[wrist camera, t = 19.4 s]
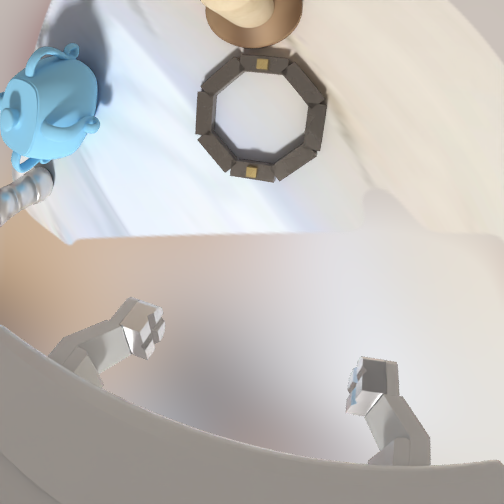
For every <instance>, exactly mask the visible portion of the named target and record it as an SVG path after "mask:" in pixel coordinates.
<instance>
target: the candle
mask: <svg viewBox="0 0 504 504" xmlns="http://www.w3.org/2000/svg"><path fill="white" fill-rule="evenodd" d="M200 1H201V2H202V3H203V4H204V5H205V6H206V7H208V8H209V9H211V10H213V11H214V12H216V13H218V14H219V15H221V16H222V17H224V18H226V19H227V20H229V21H230V22H232V23H233V24H235V25H237V26H240V27H244V28H254V27H258V26H260V25H262V24H264V23H266V22H267V21H268V20H269V19H270V17H271V16H272V14H273V11H274V2H273V0H200Z"/></svg>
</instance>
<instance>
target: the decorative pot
mask: <svg viewBox="0 0 504 504" xmlns="http://www.w3.org/2000/svg"><path fill="white" fill-rule="evenodd" d="M69 52H70V53H69ZM46 54H50V55H53V56H51V57H47V58H44V59H41V57H42V56H44V55H46ZM78 55H79V46H78V45H77V44H75V43H70V44H68V45H67V46H66V47H65V48H64V51H63V52H61V51H60V50H58V49H55V48H53V47H42V48H39V49H38V50H36V51H35V52H34V53H33V54H32V55H31V57H30V58H29V60H28V62H27V65H26V68H25V69H23V70H22V71H20V72H19V73H18V74H17V75H15V76H14V77H13V78H12V79H11V80H10V82H9V83H8V85H7V87H6V90H5V92H2V93H0V110H1V113H0V129H1V135H2V138H3V141H4V142H5V143H6V145H7V146H8V147H9V148H11V149H12V150H13V153H12V157H11V162H12V165H13V167H14V169H15V170H16V171H18V172H21V173H23V172H26V171H28V170H30V169H31V168H32V167H34V166H35V165H36V164H37V163H38V162H40V163H42V164H46V163H48V162H49V161H50V160H51V159H58V158H62V157H66V156H68V155H71V154H72V153H74V152H75V151H76V150H77V149H78V148H79V146H80V145H81V143H82V142H83V140H84V138H85V136H86V135H87V133H96V132H97V131H98V129H99V127H100V122H99V120H98V119H97V118H96V117H94V114H95V110H96V103H97V93H98V86H97V80H96V77H95V75H94V73H93V72H92V71H91V69H90V68H89V67H88V66H86V65H85V64H84V63H82V62H81V61H79V60H77V59H76V58H77V57H78ZM40 59H41V60H40ZM21 155H22V156H26V157H30V158H29V159H27V160H26V161H25V162H23V163H21V164H20V157H21Z"/></svg>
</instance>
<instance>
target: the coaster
mask: <svg viewBox="0 0 504 504" xmlns="http://www.w3.org/2000/svg"><path fill="white" fill-rule="evenodd" d="M273 2H274V11H273V14H272V16H271V17H270V19H269V20H268V21H267V22H266V23H264V24H262V25H260V26H258V27H254V28H244V27H240V26H237V25H235V24H233V23H232V22H230V21H229V20H227V19H226V18H224V17H222V16H221V15H219V14H218V13H216V12H214V11H213V10H211V9H209V8H208V7H206V18H207V21H208V24H209V26H210V27H211V29H212V30H213V32H214V33H215V34H216V35H217V36H218V37H220V38H221V39H223V40H224V41H226V42H228V43H230V44H233V45H235V46H238V47H243V48H263V47H268V46H271V45H274V44H276V43H278V42H280V41H282V40H283V39H285V38H286V37H287V36H289V35H290V34H291V33H292V32H293V31H294V29H295V28H296V27H297V25H298V23H299V21H300V18H301V15H302V0H273Z"/></svg>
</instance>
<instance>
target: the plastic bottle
mask: <svg viewBox="0 0 504 504" xmlns="http://www.w3.org/2000/svg"><path fill="white" fill-rule="evenodd" d="M52 189H53V180H52V176H51V174H50V173H49V171H48V170H47V169H45V168H43V167H37V168H33V169H31V170H29V171H28V172H26V173H25V174H24V175H23V176H22V177H20V178H19V179H17V180H15V181H14V182H12V183H11V184H9V185H7V186H4V187H2V188H0V227H1V226H2V225H3V224H4V223H5V222H6V221H7V220H9V219H10V218H11V217H13V216H14V215H15V214H16V213H18V212H20V211H21V210H23V209H25V208H27V207H29V206H31V205H34V204H37V203H39V202H42V201H44V200H45V199H46V198H47V197H48V196H49V195H50V194H51V191H52Z"/></svg>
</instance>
